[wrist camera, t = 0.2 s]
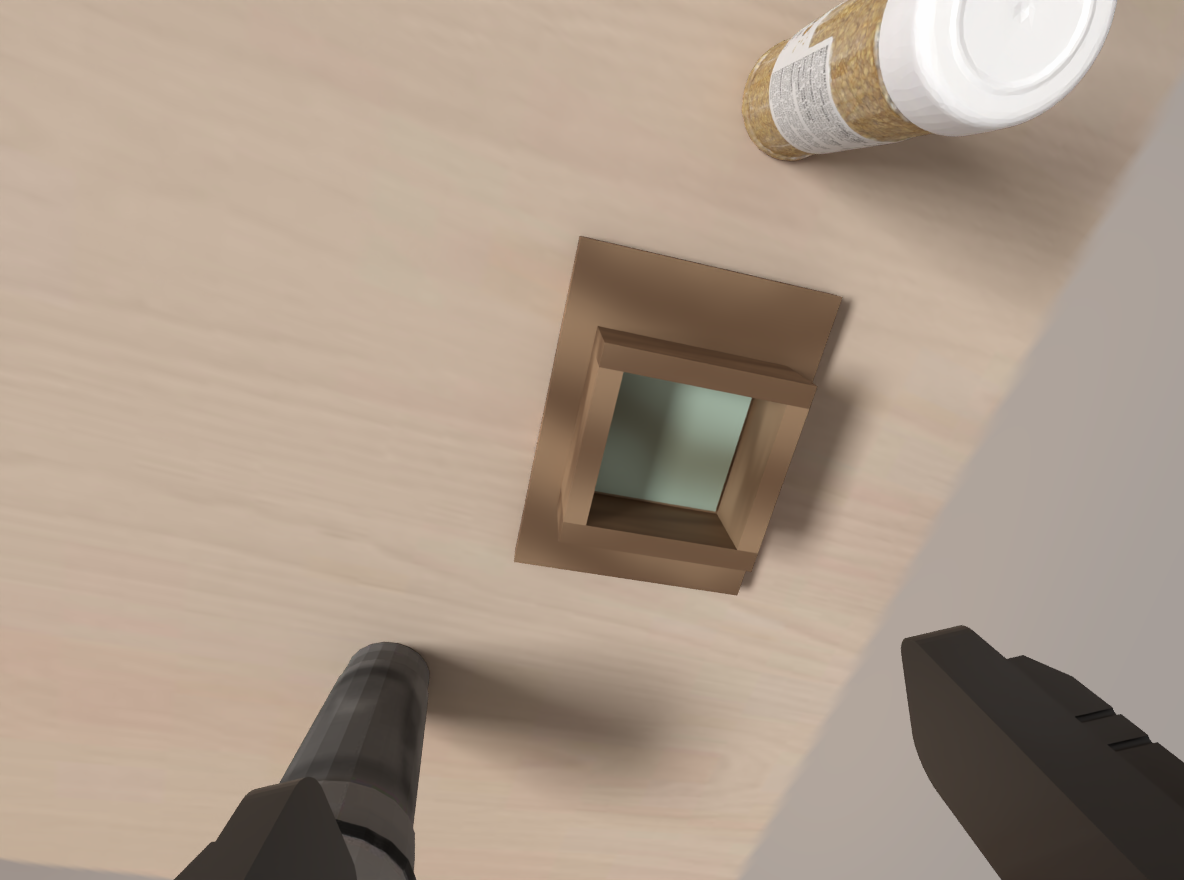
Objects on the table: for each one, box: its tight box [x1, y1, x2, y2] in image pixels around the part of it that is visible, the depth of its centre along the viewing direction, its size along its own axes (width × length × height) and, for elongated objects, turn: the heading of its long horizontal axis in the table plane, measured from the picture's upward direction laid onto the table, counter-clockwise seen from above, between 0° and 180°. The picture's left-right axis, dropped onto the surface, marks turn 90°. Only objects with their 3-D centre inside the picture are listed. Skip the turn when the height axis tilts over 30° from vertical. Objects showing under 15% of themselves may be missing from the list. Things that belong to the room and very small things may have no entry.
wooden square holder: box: [514, 236, 842, 595], centre depth 28 cm, size 16×12×4 cm
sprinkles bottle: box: [742, 0, 1117, 161], centre depth 20 cm, size 5×5×14 cm
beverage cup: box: [280, 642, 430, 880], centre depth 25 cm, size 7×7×20 cm
